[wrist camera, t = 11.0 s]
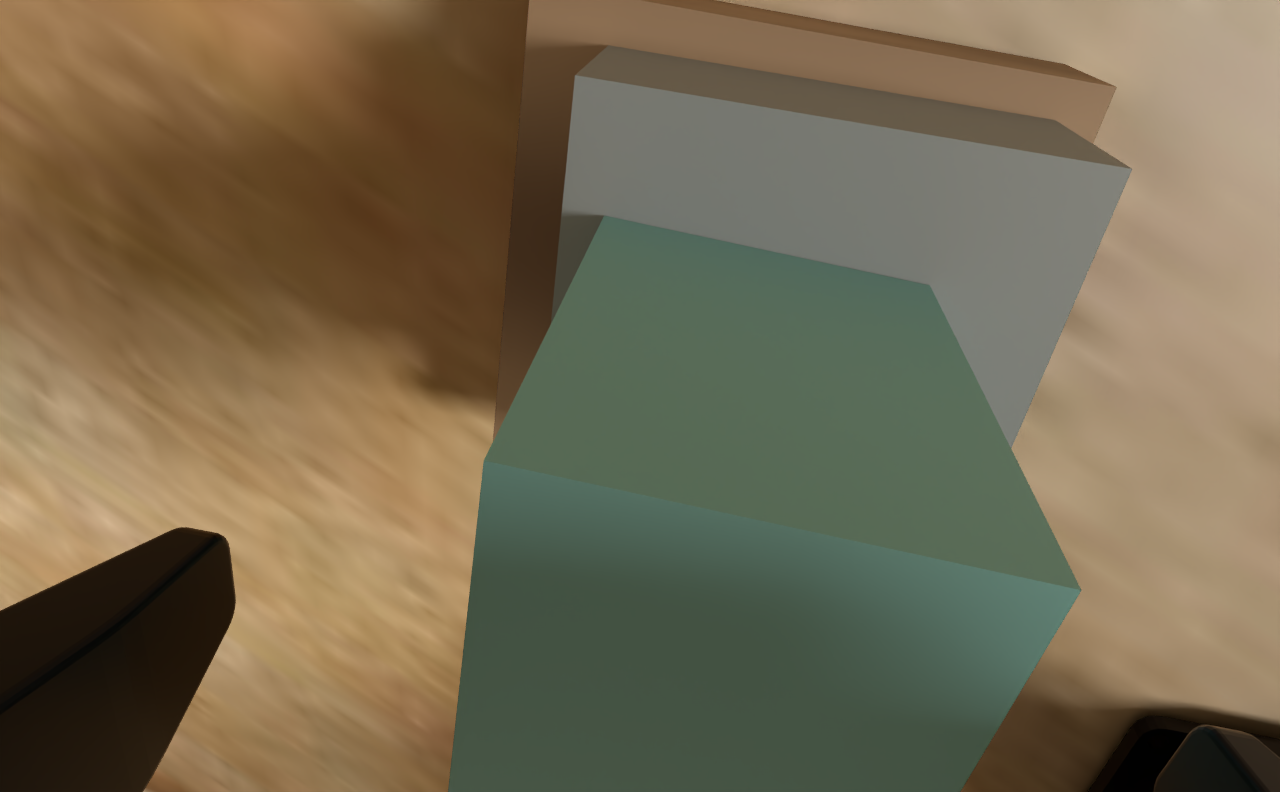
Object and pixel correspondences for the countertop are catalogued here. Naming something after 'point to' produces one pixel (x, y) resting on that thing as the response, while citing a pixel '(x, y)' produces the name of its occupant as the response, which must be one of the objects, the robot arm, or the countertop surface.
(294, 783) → the countertop surface
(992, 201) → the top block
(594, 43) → the bottom block
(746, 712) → the pillar block
